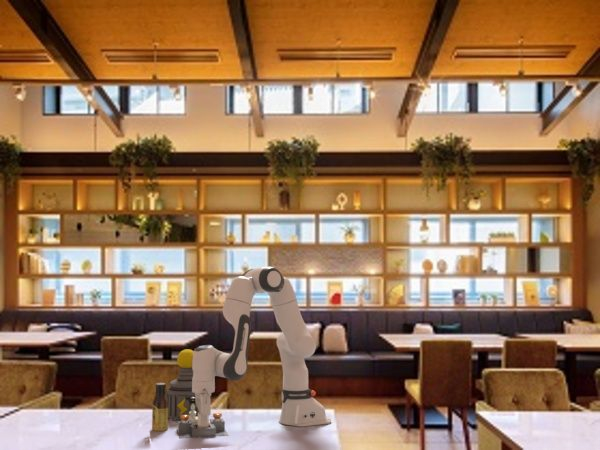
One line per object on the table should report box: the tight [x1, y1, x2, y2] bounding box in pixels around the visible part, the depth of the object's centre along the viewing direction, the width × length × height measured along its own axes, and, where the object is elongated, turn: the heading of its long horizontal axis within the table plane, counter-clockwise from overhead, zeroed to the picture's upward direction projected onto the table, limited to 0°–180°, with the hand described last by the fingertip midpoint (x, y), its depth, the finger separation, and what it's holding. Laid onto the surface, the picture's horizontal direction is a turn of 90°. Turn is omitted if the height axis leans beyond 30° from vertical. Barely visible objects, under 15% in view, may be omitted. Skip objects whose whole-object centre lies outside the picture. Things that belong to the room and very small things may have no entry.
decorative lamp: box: [165, 348, 199, 422], centre depth 298 cm, size 19×19×30 cm
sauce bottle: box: [151, 382, 169, 432], centre depth 267 cm, size 6×6×20 cm
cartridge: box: [196, 412, 210, 428], centre depth 259 cm, size 4×4×10 cm
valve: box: [185, 396, 198, 424], centre depth 280 cm, size 7×7×12 cm
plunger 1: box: [180, 415, 190, 423], centre depth 264 cm, size 4×4×6 cm
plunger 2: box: [212, 412, 223, 421], centre depth 267 cm, size 4×4×6 cm
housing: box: [176, 418, 229, 440], centre depth 261 cm, size 19×15×5 cm
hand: (202, 422), depth 259 cm, fingers open, 7 cm apart
